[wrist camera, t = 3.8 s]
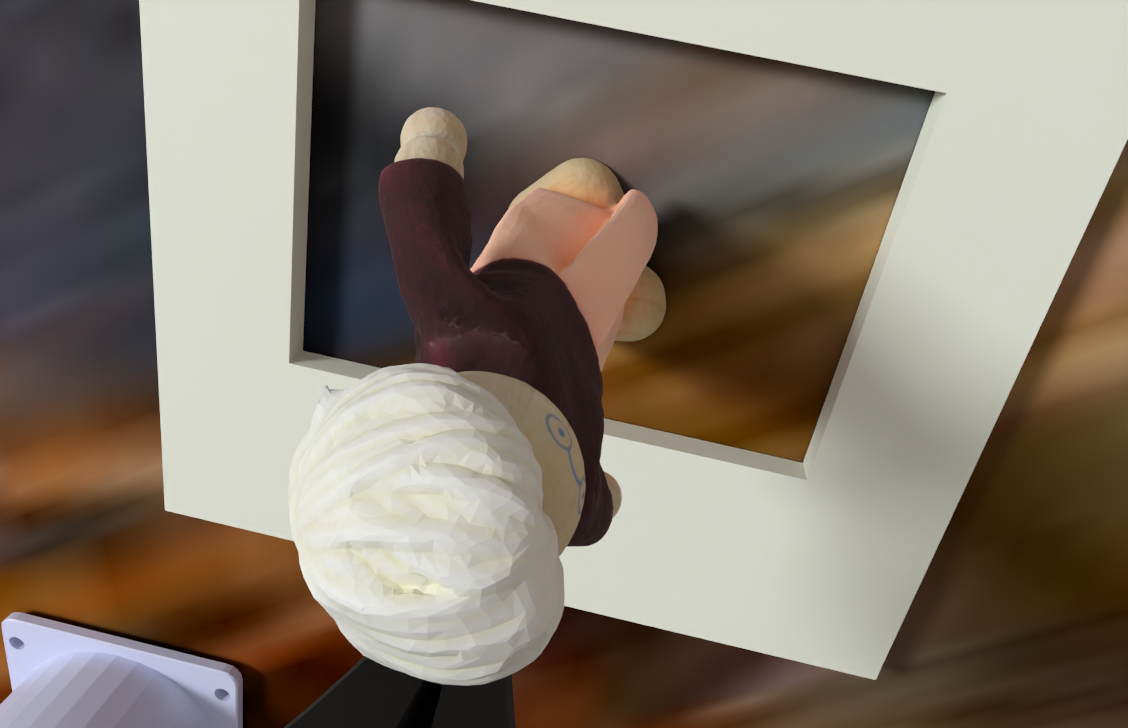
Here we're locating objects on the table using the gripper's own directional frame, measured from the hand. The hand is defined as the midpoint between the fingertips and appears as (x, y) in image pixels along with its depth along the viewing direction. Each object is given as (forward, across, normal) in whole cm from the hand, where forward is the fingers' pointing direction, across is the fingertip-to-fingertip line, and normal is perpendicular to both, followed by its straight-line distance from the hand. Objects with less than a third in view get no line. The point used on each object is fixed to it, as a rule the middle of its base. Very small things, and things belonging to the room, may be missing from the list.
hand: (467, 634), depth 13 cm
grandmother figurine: (+9, 0, -4) cm, 10 cm away
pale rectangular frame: (+8, 0, -4) cm, 9 cm away
